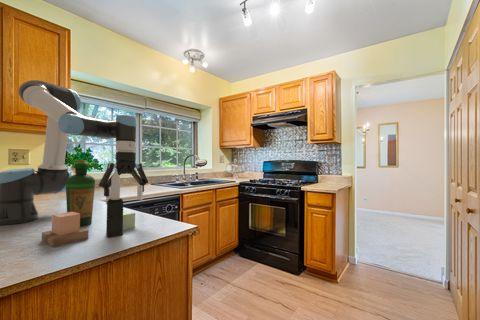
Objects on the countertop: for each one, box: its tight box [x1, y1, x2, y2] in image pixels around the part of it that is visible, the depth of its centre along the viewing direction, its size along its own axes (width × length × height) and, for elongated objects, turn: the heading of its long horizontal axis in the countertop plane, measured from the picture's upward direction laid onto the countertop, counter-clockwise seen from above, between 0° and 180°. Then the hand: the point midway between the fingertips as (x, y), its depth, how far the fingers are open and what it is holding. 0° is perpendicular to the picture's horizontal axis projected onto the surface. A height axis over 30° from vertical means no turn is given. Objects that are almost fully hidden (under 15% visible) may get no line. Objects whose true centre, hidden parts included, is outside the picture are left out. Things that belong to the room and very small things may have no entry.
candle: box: [105, 168, 124, 238], centre depth 84 cm, size 5×5×25 cm
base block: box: [41, 226, 90, 248], centre depth 78 cm, size 10×10×3 cm
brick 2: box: [123, 210, 136, 230], centre depth 94 cm, size 6×6×6 cm
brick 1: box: [51, 211, 81, 235], centre depth 78 cm, size 6×6×6 cm
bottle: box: [65, 159, 96, 227], centre depth 97 cm, size 11×11×28 cm
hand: (125, 202), depth 94 cm, fingers open, 13 cm apart
